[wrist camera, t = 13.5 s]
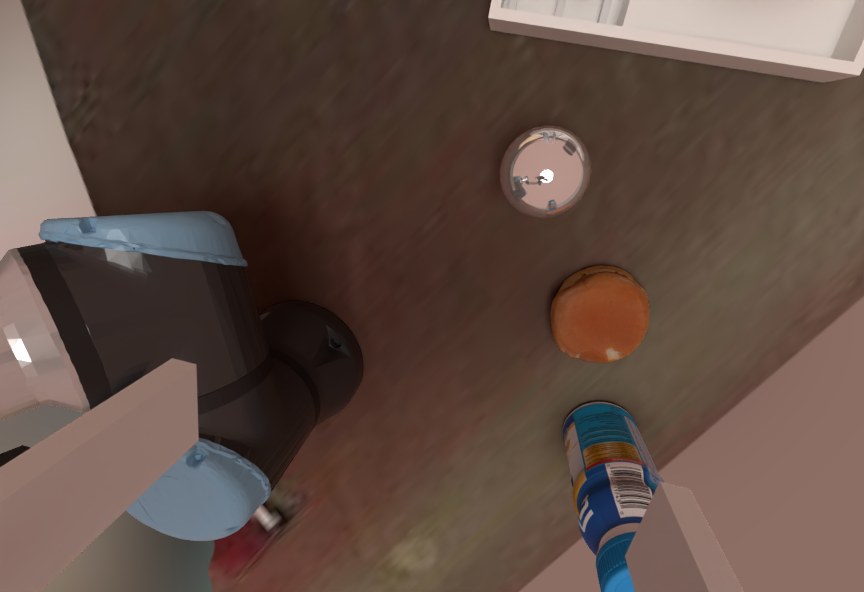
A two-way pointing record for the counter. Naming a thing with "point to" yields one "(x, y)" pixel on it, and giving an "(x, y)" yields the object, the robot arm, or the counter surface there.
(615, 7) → the white tray
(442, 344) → the counter surface
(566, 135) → the light bulb
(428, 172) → the counter surface
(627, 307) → the burger
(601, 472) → the beverage bottle
